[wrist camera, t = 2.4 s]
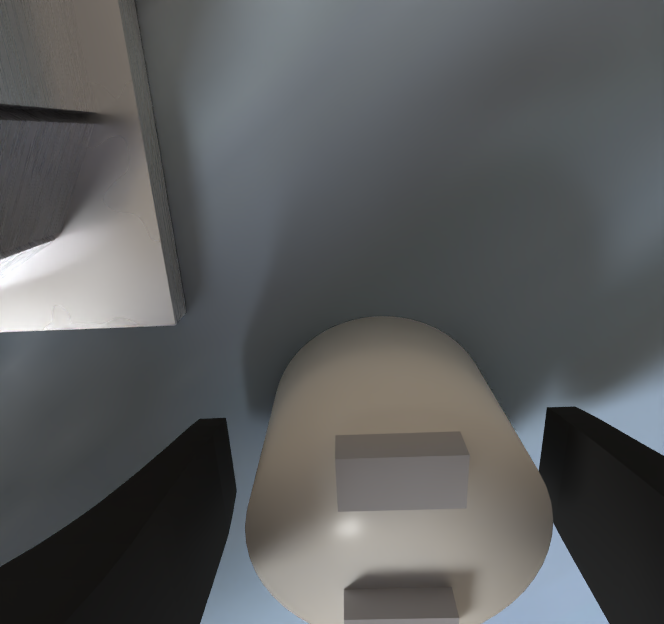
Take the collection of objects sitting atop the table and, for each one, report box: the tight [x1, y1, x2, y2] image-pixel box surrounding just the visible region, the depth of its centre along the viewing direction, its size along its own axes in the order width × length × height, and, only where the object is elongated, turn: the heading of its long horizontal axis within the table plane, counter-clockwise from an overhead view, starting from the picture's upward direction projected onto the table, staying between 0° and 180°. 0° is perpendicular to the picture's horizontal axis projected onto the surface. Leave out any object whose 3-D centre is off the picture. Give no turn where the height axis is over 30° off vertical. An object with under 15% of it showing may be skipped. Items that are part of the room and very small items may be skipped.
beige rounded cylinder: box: [245, 316, 553, 624], centre depth 10 cm, size 5×5×5 cm
